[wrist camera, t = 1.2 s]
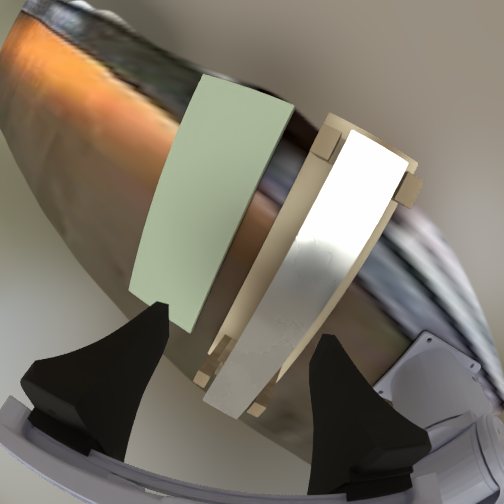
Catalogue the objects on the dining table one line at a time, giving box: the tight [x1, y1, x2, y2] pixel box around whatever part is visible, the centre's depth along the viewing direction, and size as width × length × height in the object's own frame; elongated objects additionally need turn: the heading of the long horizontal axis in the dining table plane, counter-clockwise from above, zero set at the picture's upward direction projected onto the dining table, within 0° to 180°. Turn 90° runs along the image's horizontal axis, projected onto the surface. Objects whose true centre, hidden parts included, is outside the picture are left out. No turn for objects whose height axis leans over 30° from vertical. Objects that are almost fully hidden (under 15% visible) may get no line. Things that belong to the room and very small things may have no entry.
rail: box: [203, 130, 408, 419], centre depth 16 cm, size 20×3×3 cm, turn 155°
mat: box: [129, 74, 296, 333], centre depth 22 cm, size 8×22×1 cm, turn 155°
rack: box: [193, 113, 424, 417], centre depth 18 cm, size 7×23×6 cm, turn 155°
